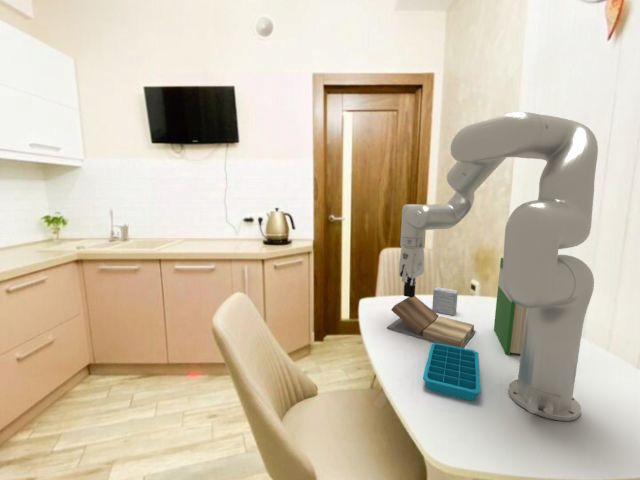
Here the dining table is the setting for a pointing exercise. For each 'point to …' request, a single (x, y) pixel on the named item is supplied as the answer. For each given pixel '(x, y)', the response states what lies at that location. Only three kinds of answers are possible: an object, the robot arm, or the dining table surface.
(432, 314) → the walnut plank
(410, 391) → the dining table surface
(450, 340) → the oak plank
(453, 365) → the ice cube tray
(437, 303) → the medicine box
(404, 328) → the underlay mat
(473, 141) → the robot arm
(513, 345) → the hardback book
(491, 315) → the dining table surface
